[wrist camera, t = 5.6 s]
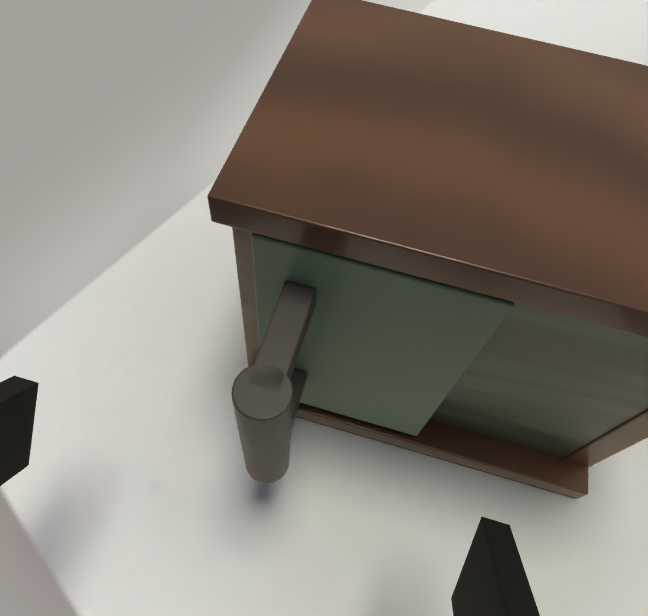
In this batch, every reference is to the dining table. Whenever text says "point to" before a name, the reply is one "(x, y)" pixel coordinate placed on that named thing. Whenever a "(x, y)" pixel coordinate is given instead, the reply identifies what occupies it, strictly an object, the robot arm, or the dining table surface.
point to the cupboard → (468, 218)
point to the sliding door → (350, 346)
